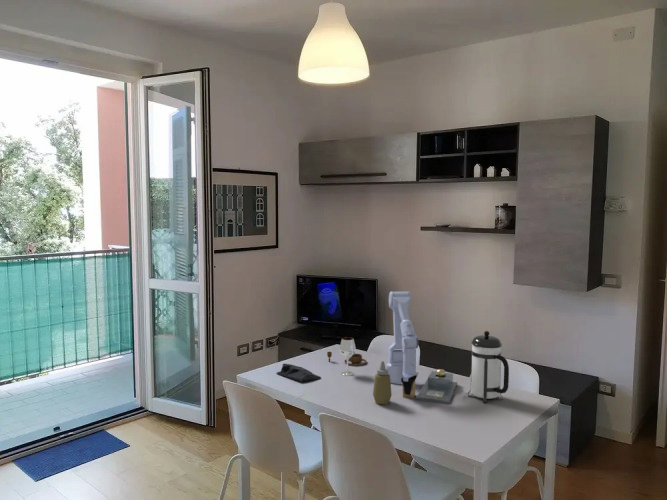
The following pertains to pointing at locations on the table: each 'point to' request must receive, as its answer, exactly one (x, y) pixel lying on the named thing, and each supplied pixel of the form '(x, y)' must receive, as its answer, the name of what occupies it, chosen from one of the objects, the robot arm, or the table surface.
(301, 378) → the dark grey cloth
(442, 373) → the pin
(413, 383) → the oak block
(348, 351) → the wineglass
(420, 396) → the base
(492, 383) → the coffee press
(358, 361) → the place setting
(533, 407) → the table surface
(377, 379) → the squeeze bottle
